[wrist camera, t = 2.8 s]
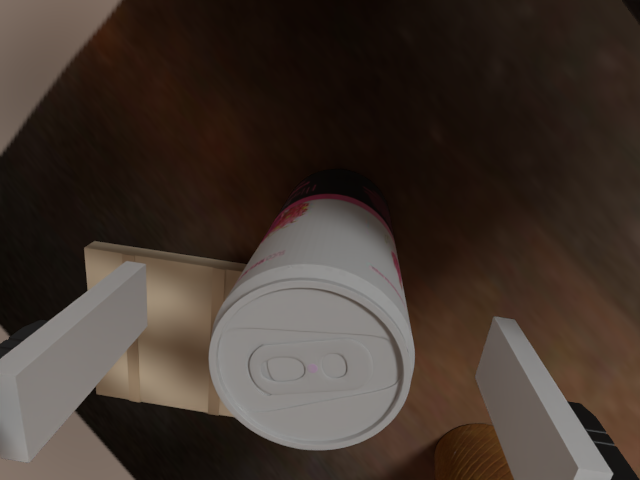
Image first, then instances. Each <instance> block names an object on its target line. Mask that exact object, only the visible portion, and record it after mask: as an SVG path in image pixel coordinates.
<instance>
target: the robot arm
mask: <svg viewBox="0 0 640 480" xmlns="http://www.w3.org/2000/svg"><path fill="white" fill-rule="evenodd" d="M622 2H623V3H624V4H625V6H626V7H627V8H628V10H629V11H630V12H631V14H632V15H633V16H634V18H635V19H636V20H637V22H638V23H639V24H640V0H622ZM146 327H147V287H146V264H143V263H136V262H130V261H126V262H124V263H123V264H122V265H120V266H119V267H118V268H117V269H115V270H114V271H113V272H111V273H110V274H109V275H108V276H106V277H105V278H104V279H102V280H101V281H100V282H99V283H97V284H96V285H95V286H93V287H92V288H91V289H90V290H88V291H87V292H86V293H84V294H83V295H82V296H81V297H79V298H78V299H77V300H75V301H74V302H73V303H72V304H70V305H69V306H68V307H66V308H65V309H64V310H63V311H61V312H60V313H59V314H57V315H56V316H55V317H54V318H52V319H51V320H50V321H46V320H39V321H37V322H34V323H32V324H30V325H27V326H25V327H23V328H21V329H20V330H19V331H17V332H16V333H14V334H13V335H12V336H10V337H9V339H8V340H5V341H4V342H2V343H1V344H0V456H1V458H2V459H8V460H14V461H20V462H26V463H30V462H31V460H32V459H33V458H34V457H35V456H36V455H37V454H38V452H39V451H40V450H41V449H42V448H43V447H44V445H45V444H46V443H47V442H48V441H49V440H50V438H51V437H52V436H53V435H54V434H55V433H56V432H57V430H58V429H59V428H60V427H61V426H62V425H63V423H64V422H65V421H66V420H67V419H68V418H69V416H70V415H71V414H72V413H73V412H74V411H75V410H76V408H77V407H78V406H79V405H80V404H81V403H82V401H83V400H84V399H85V398H86V397H87V396H88V394H89V393H90V392H91V391H92V390H93V389H94V388H95V386H96V385H97V384H98V383H99V382H100V381H101V379H102V378H103V377H104V376H105V375H106V374H107V372H108V371H109V370H110V369H111V368H112V367H113V365H114V364H115V363H116V362H117V361H118V360H119V359H120V357H121V356H122V355H123V354H124V353H125V352H126V350H127V349H128V348H129V347H130V346H131V345H132V343H133V342H134V341H135V340H136V339H137V338H138V337H139V335H140V334H141V333H142V332H143V331H144V330H145V328H146ZM475 379H476V381H477V384H478V387H479V389H480V392H481V394H482V397H483V400H484V402H485V405H486V408H487V410H488V413H489V415H490V418H491V421H492V423H493V426H494V428H495V431H496V434H497V436H498V439H499V441H500V444H501V447H502V449H503V452H504V455H505V457H506V460H507V462H508V465H509V468H510V470H511V473H512V475H513V478H514V480H639V478H638V477H637V475H636V474H635V472H634V471H633V470H632V468H631V467H630V465H629V464H628V462H627V461H626V460H625V458H624V457H623V455H622V454H621V452H620V451H619V449H618V448H617V447H616V446H614V442H613V441H612V439H611V438H610V437H609V435H608V434H606V431H605V429H604V428H603V426H602V425H601V424H600V422H599V421H598V419H597V418H596V417H595V416H594V415H593V414H592V413H591V412H590V411H588V410H587V409H586V408H585V407H584V406H583V405H581V404H580V403H574V402H568V401H566V399H565V397H564V396H563V394H562V393H561V391H560V390H559V388H558V386H557V385H556V383H555V382H554V380H553V379H552V377H551V376H550V374H549V372H548V371H547V369H546V368H545V366H544V365H543V363H542V361H541V360H540V358H539V357H538V355H537V354H536V352H535V351H534V349H533V347H532V346H531V344H530V343H529V341H528V340H527V338H526V336H525V335H524V333H523V332H522V330H521V329H520V327H519V326H518V324H517V322H516V321H515V319H508V318H502V317H495V316H494V317H493V320H492V323H491V327H490V330H489V333H488V336H487V340H486V343H485V346H484V349H483V353H482V356H481V359H480V362H479V366H478V369H477V372H476V376H475Z"/></svg>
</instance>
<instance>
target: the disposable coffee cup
mask: <svg viewBox="0 0 640 480" xmlns="http://www.w3.org/2000/svg"><path fill="white" fill-rule="evenodd" d="M434 460H435V480H514V478H513V475H512V473H511V470H510V468H509V465H508V462H507V460H506V457H505V455H504V452H503V449H502V447H501V444H500V441H499V439H498V436H497V434H496V431H495V428H494V426H492V425H486V424H469V425H465V426H461V427H458V428H456V429H453V430H452V431H450V432H449V433H447V434H446V435H445V436H444V437H443V438H441V440H440V441H439V443H438V444H437V446H436V449H435V455H434Z"/></svg>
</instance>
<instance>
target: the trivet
mask: <svg viewBox="0 0 640 480" xmlns="http://www.w3.org/2000/svg"><path fill="white" fill-rule="evenodd" d="M84 252H85V264H86V276H87V288H88V290H90V289H91V288H92V287H93V286H95V285H96V284H97V283H99V282H100V281H101V280H102V279H104V278H105V277H106V276H108V275H109V274H110V273H111V272H113V271H114V270H115V269H117V268H118V267H119V266H120V265H122V264H123V263H124V262H126V261H130V262H136V263H143V264H146V287H147V327H146V328H145V330H144V331H143V332H142V333H141V334H140V335H139V337H138V338H137V339H136V340H135V341H134V342H133V343H132V345H131V346H130V347H129V348H128V349H127V350H126V352H125V353H124V354H123V355H122V356H121V357H120V359H119V360H118V361H117V362H116V363H115V364H114V365H113V367H112V368H111V369H110V370H109V371H108V372H107V374H106V375H105V376H104V377H103V378H102V379H101V381H100V382H99V383H98V384H97V385H96V393H97V394H99V395H105V396H111V397H117V398H123V399H129V401H135V402H140V401H141V402H147V403H153V404H159V405H165V406H171V407H177V408H183V409H189V410H194V411H200V412H206V413H208V414H212V415H224V416H230V417H234V416H233V415H232V414H231V412H230V411H229V410H228V409H227V408H226V406H225V405H224V404H223V402H222V401H221V399H220V397H219V396H218V394H217V392H216V390H215V387H214V385H213V382H212V379H211V375H210V370H209V360H208V358H209V347H210V342H211V335H212V329H213V324H214V321H215V318H216V316H217V314H218V311H219V310H220V308H221V306H222V304H223V303H224V301H225V300H226V298H227V296H228V295H229V293H230V291H231V290H232V288H233V287H234V285H235V283H236V282H237V280H238V278H239V277H240V275H241V274H242V272H243V270H244V269H245V267H246V266H247V264H242V263H236V262H229V261H223V260H216V259H209V258H203V257H196V256H190V255H183V254H177V253H170V252H163V251H157V250H150V249H144V248H137V247H130V246H124V245H117V244H111V243H104V242H98V241H94V242H92V243H91V244H89V245H88V246H86V247H84Z"/></svg>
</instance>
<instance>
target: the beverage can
mask: <svg viewBox="0 0 640 480" xmlns="http://www.w3.org/2000/svg"><path fill="white" fill-rule="evenodd" d="M208 360H209V370H210V375H211V379H212V382H213V385H214V387H215V390H216V392H217V394H218V396H219V397H220V399H221V401H222V402H223V404H224V405H225V406H226V408H227V409H228V410H229V411H230V412H231V414H232V415H233V416H234V417H235V418H236V419H237V420H239V421H240V422H241V423H242V424H243V425H245V426H246V427H247V428H249V429H250V430H252V431H253V432H255V433H256V434H258V435H260V436H262V437H264V438H266V439H268V440H270V441H273V442H275V443H278V444H281V445H285V446H288V447H293V448H298V449H305V450H331V449H338V448H343V447H347V446H351V445H354V444H357V443H360V442H362V441H364V440H366V439H368V438H370V437H372V436H374V435H375V434H377V433H378V432H380V431H381V430H382V429H384V428H385V427H386V426H387V425H388V424H389V423H390V422H391V421H392V420H393V419H394V418H395V417H396V415H397V414H398V413H399V411H400V410H401V408H402V406H403V405H404V402H405V400H406V398H407V395H408V392H409V388H410V383H411V378H412V374H413V370H414V363H415V350H414V343H413V337H412V332H411V326H410V321H409V316H408V310H407V305H406V299H405V294H404V289H403V283H402V278H401V272H400V267H399V262H398V256H397V251H396V245H395V240H394V235H393V229H392V224H391V218H390V213H389V208H388V205H387V203H386V200H385V198H384V196H383V195H382V193H381V192H380V190H379V189H378V188H377V187H376V186H375V185H374V184H373V183H372V182H371V181H370V180H368V179H367V178H365V177H363V176H362V175H359V174H357V173H355V172H351V171H347V170H340V169H332V170H325V171H321V172H318V173H315V174H313V175H311V176H309V177H307V178H306V179H304V180H303V181H302V182H300V183H299V184H298V185H297V186H296V187H295V189H294V190H293V191H292V193H291V194H290V196H289V198H288V199H287V201H286V202H285V204H284V206H283V207H282V209H281V211H280V212H279V214H278V215H277V217H276V219H275V220H274V222H273V223H272V225H271V227H270V228H269V230H268V232H267V233H266V235H265V236H264V238H263V240H262V241H261V243H260V245H259V246H258V248H257V249H256V251H255V253H254V254H253V256H252V257H251V259H250V261H249V262H248V264H247V266H246V267H245V269H244V270H243V272H242V274H241V275H240V277H239V278H238V280H237V282H236V283H235V285H234V287H233V288H232V290H231V291H230V293H229V295H228V296H227V298H226V300H225V301H224V303H223V304H222V306H221V308H220V310H219V311H218V314H217V316H216V318H215V321H214V324H213V329H212V335H211V342H210V347H209V358H208Z"/></svg>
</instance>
